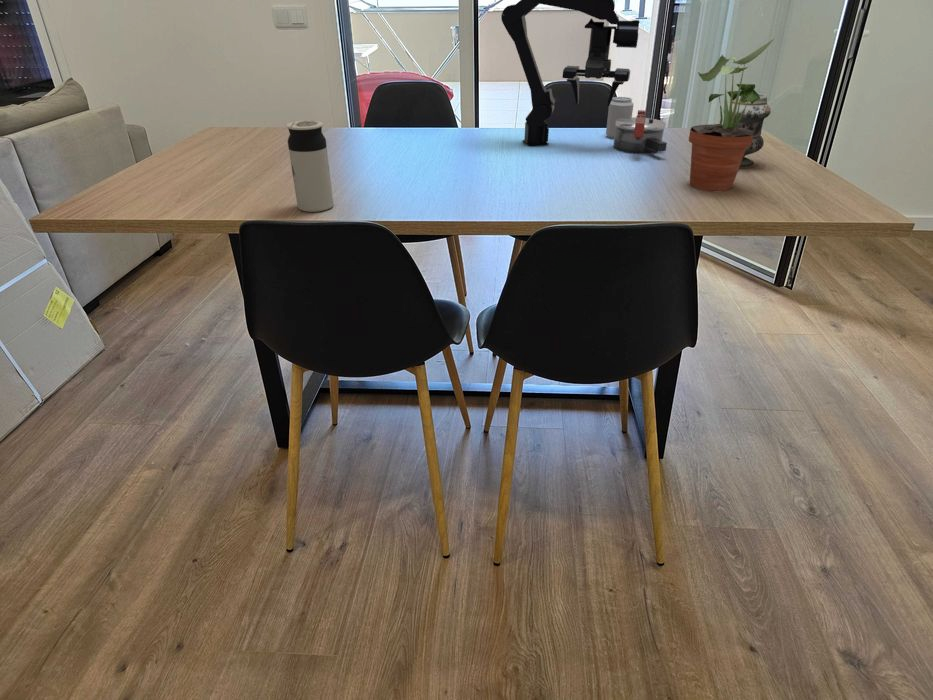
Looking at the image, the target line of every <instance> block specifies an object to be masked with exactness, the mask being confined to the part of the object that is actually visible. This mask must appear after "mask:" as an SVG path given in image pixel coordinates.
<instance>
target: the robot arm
mask: <svg viewBox="0 0 933 700" xmlns="http://www.w3.org/2000/svg"><path fill="white" fill-rule="evenodd" d="M539 5H543V6H549V7H556V8H562V9H568V10H570V11H571V10H574V11H577V12H581V13H583V14H585V15H588V16H590V17H593V18H595V19H597V20H600V21H594V19H593V18H590V19H589V21H588V22H587V23H586V24H585V25H584V29H590V35H589V37H590V38H589V45H588V46H589V47H588V54H587V59H586V62H585V68H584V69H582V68H581V69H580V66H579V65H566V66H565V67H564V68H563V71H562V77H561V78H562V79H566V82H568V83H570V85H571V87H572V91H573V95H574V99H575V104H576V105H579V101H580V77H585V78H586V79H590V78H593V79H598V80H599V79H601V78H608V79H610V78H611V79H613V81H612V83H611V88H610V92H609V96H608V100H607V107H608V108H609V105H610V103H611V101H612V98H613V97H614V96H615V94H616V92H617V90H618V89H619V88H618V87H619V86H620V85H624V83H626V82H629V81H630V76H631V70H630V69H629V68H623V67H622V68H618V67H617V68H616V69H615V70H611V68H612V59H611V58H609V55H610V46H611V40H612V44H615V45H616V46H615V47H616V48H632V49H633V48H634V49H636V48H637V47H638V41H639V28H640V27H639V26H640V25H639V24H640V20H637V19H634V20H620V19H619V16H618V15H617V14H616V13H617V12H615V8H616V7H615V6H616V5H615V1H614V0H519V1H518V2H516V3H515V4H510V5H507V6H506V7H505V8H504V9H503V10H502V13H501V14H500V16H501V17H500V18H501V23H502V24H503V26H504V28H505V30H506V32H507V34H508V35H509V37H510V38H511V39H512V41H513V44H514V45H515V49H516V52H517V54H518V57H519V60H520V63H521V66H522V69H523V72H524V75H525V78H526V81H527V84H528V86H529V90H530V97H531V106H532V110H531V111H529V113H528V114H527V116H525V122H524V124H525V125H524V139H523V140H522V143H523V144H525V145H527V146H528V147H535V146H549V143H548V142H549V132H550V131H549V130H550V129H549V127H548V122H546V120H548V119H549V118H550V117H551V116H552V114H553V112H554V109H555V103H556V99H555V97H554V96H553V90H552V88H548V89H547V88H546V86H545V85H544V82H543V80H542V77H541V74H540V71H539V68H538V65H537V62H536V59H535V55H534V53H533V50H532V49H533V48H532V46H531V44H530V41H529V37H528V30H527V29H528V28H527V21H526V20H527V19H526V16H527V15H528V14H529V13H530V12H532V11H533V10H534V9H535V8H537V7H538V6H539ZM605 20H606V22H607V23H609V24H610V26H609V25H605ZM613 25H614V26H613ZM615 25H616V26H615ZM612 30H614V31H613V39H612Z"/></svg>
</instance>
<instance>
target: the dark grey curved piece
mask: <svg viewBox="0 0 933 700" xmlns="http://www.w3.org/2000/svg"><path fill="white" fill-rule="evenodd" d="M664 130H665V129H663V130H660V131H652V132H644V134H643V138H641V137H633V136H634V131H629V130H623V129H620V128H617V127H616V129H615V137H614V139H613V149H614V150H616V151H619V152H621V151H622V152H621V153H628V154H635V153H637V154H638V155H639V154H641V155H645V154H647V155H648V154H656V153H658V151H659V152H665V151H666V149H667V144H668V143H667V142H665V141H663V136H664ZM637 154H636V155H637Z"/></svg>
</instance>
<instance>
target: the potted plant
mask: <svg viewBox="0 0 933 700" xmlns="http://www.w3.org/2000/svg"><path fill="white" fill-rule="evenodd" d="M774 40H775V39H774V38H773V39H771V40H769V41H768V42H767V43H765V44H764V45H762V46H760V47H759V48H757V49H756V50H755V51H753V52H752V53H750V54H748V55H746V56H745V57H742V58H741V59H738V58H737V57H736V56H733V57H731V58H726V57H725V56H724V55H723V54H721V56H719V58H718V60H717V62H716V63H715V65H714V66H713V67H712V68H711V69H710V70H709V71H707V72H704V73H700V72H699V71H698V72H697V74H698V76H699V77H700V78H701V80H702V81H704V82H711V81H712V80H714V79H715V78H716V77H717V76H718V75H719V74H721V75H723V76H728V75H731V74H732V75H734V74H739V73H741V72H742V73H741V77H740V81H739V82H740V83H737V84H736V86H737V88H738V90H735V91H734V76H732V78H731V90H730V91H727V78H724V79H725V83H724V84H725V86H724V87H725V88H724V94H722V93H720V94H719V93H711V94H709V97H708V101H707V102H708V103H711V102H712V101H713V100H714V99H715V100H716V99H717V98H718V99H719V103H721V97H722V96H724V106H723V107H722V106H721V105H719V111H720V113H719V114H720V120H719V123H714V124H699V125H694V126H691V127H690V129H689V136H688V142H689V143H691V152H690V153H691V156H690V172H689V185H690V186H692V187H694V188H695V189H697V190H699V189H701V190H700V191H704V190H706V191H705V192H714V191H721V192H725V191H728V190H729V189H732V187H733V185H734V182H735V180H736V177H737V174H738V172H739V169H740V168H739V167H740V164H741V161H742V159H743V156H744V153H745V151H746V148H747V147H750V146H751V142H752V139H753V135H754V132H753V131H752V130H749V129H746V128H742V127H737V126H736V125H737V123H738V122H739V121H740V120H741V117H742V115H743V113H744V110H745V108H746V106H747V104H748V102H747V101H749V99H750V102H751V104H753V102H754V101H757V100H759V99H760V97H759V95H758V93H759V92H757V91H756V90H755V89H756V84H755V83H753V84H752V83H750V84H749V83H742V82H743V76H744V72H745V70H746V69H748V68H749V67H751V65H750V66H748V67H746V64H748V63H750V62H751V61H754V59H756V58H758V57H759V56H760V55H761V54H762V53H763V52H764V51H765V50H766V49H767V48H768V47H769V46H770V45H771V43H772V42H773V41H774ZM737 59H738V60H737ZM730 60H731V61H733V62H732V64H736V65H741V66H743V67H740V66H737V67H733V66H729V65H727V64H728V62H730ZM727 94H728V96H729V98H730V99H729V102H730V106H729V111H728V104H727V103H728V99H727V97H728V96H727ZM742 95H743V96H742ZM739 96H741V98H740V101H739V105H738V110H737V115H736V119H735V123H734V118H735V114H736V109H737V104H738V99H739ZM736 97H737V98H736ZM735 99H736V102H735V106H734V110H733V113H732V100H735ZM740 102H743V103H745V102H747V104H746V106H745V108H744V110H743V112H742V114H741V116H740V117H739V118H738V112H739V106H740ZM723 108H724V112H723ZM737 118H738V120H737ZM730 120H731V121H730Z"/></svg>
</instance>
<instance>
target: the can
mask: <svg viewBox="0 0 933 700" xmlns="http://www.w3.org/2000/svg"><path fill="white" fill-rule="evenodd" d="M632 100H633V98H632V97H627V96H615V97H614V96H613V98H612V101H611V103H610V105H609V107H608V111H607V112H608V113H607V120H606V121H607V122H606V129H605V135H606V137H609V138H608V139H611V140H612V139H613V140H614V137H615V129H616V126H615V123H616V120H618V119H621V118H633V113H634V102H633V101H632Z"/></svg>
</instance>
